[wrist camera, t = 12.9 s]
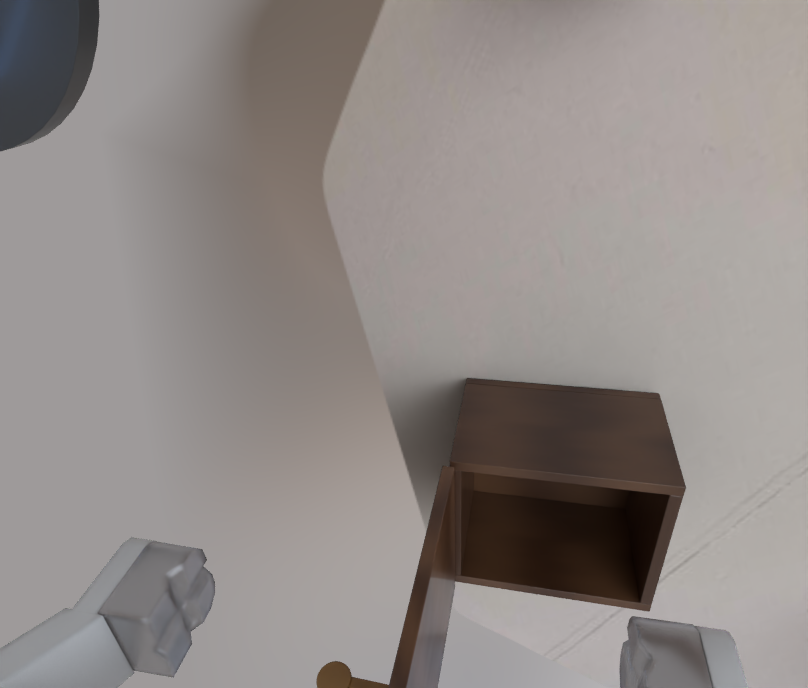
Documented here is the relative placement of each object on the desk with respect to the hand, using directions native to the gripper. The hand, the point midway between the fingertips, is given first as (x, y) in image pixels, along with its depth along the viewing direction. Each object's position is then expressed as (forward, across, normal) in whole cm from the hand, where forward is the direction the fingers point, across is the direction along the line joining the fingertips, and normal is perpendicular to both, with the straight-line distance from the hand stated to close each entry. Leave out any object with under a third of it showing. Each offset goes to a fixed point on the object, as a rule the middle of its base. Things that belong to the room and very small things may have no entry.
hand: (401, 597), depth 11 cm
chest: (+31, -5, +23) cm, 39 cm away
